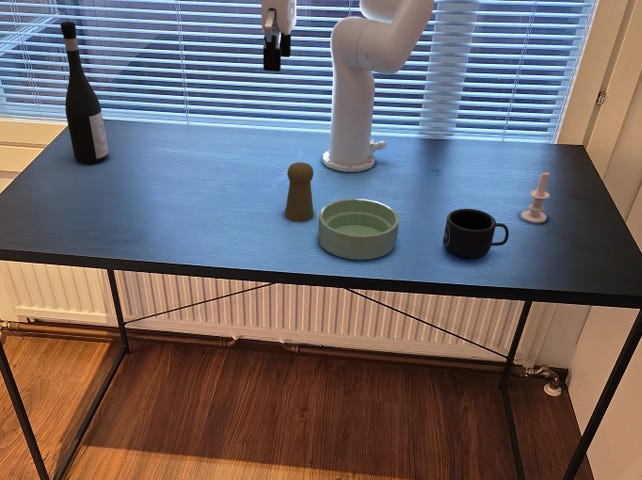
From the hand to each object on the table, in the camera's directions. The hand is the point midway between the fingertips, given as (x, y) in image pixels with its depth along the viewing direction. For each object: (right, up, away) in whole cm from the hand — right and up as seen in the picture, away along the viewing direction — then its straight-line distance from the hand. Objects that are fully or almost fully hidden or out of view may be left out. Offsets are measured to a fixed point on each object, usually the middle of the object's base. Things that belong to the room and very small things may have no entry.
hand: (277, 63), depth 127 cm
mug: (+38, -36, +1) cm, 52 cm away
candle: (+54, -27, +12) cm, 61 cm away
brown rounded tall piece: (+4, -27, +12) cm, 30 cm away
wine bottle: (-45, -9, +33) cm, 56 cm away
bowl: (+16, -34, +4) cm, 37 cm away
